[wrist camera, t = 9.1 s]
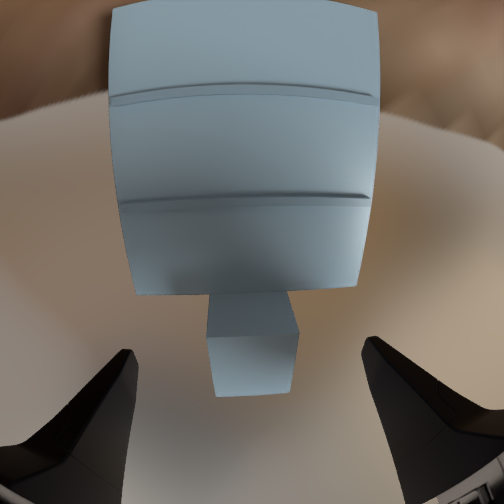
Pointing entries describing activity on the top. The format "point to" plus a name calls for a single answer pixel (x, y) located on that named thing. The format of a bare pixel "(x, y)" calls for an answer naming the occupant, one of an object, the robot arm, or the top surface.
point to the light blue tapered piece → (244, 163)
